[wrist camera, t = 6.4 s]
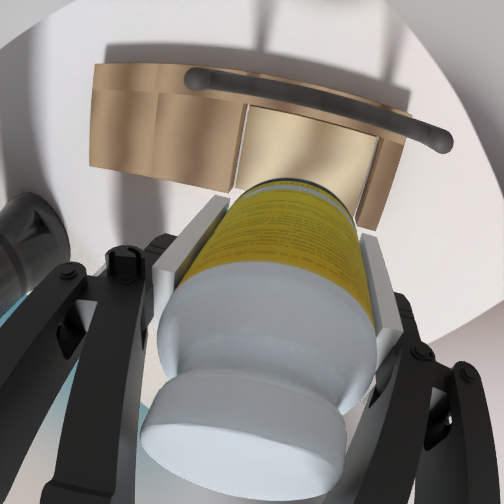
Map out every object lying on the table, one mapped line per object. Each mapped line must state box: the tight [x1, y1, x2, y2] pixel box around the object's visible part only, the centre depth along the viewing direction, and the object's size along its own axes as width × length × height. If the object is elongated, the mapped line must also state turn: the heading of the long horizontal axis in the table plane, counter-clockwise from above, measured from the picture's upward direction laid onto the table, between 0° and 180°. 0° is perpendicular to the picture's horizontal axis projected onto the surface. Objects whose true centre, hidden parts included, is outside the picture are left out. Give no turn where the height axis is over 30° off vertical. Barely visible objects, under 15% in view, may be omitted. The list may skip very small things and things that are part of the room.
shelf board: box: [89, 63, 454, 231], centre depth 23 cm, size 32×12×16 cm, turn 81°
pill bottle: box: [140, 177, 377, 501], centre depth 11 cm, size 6×6×12 cm
